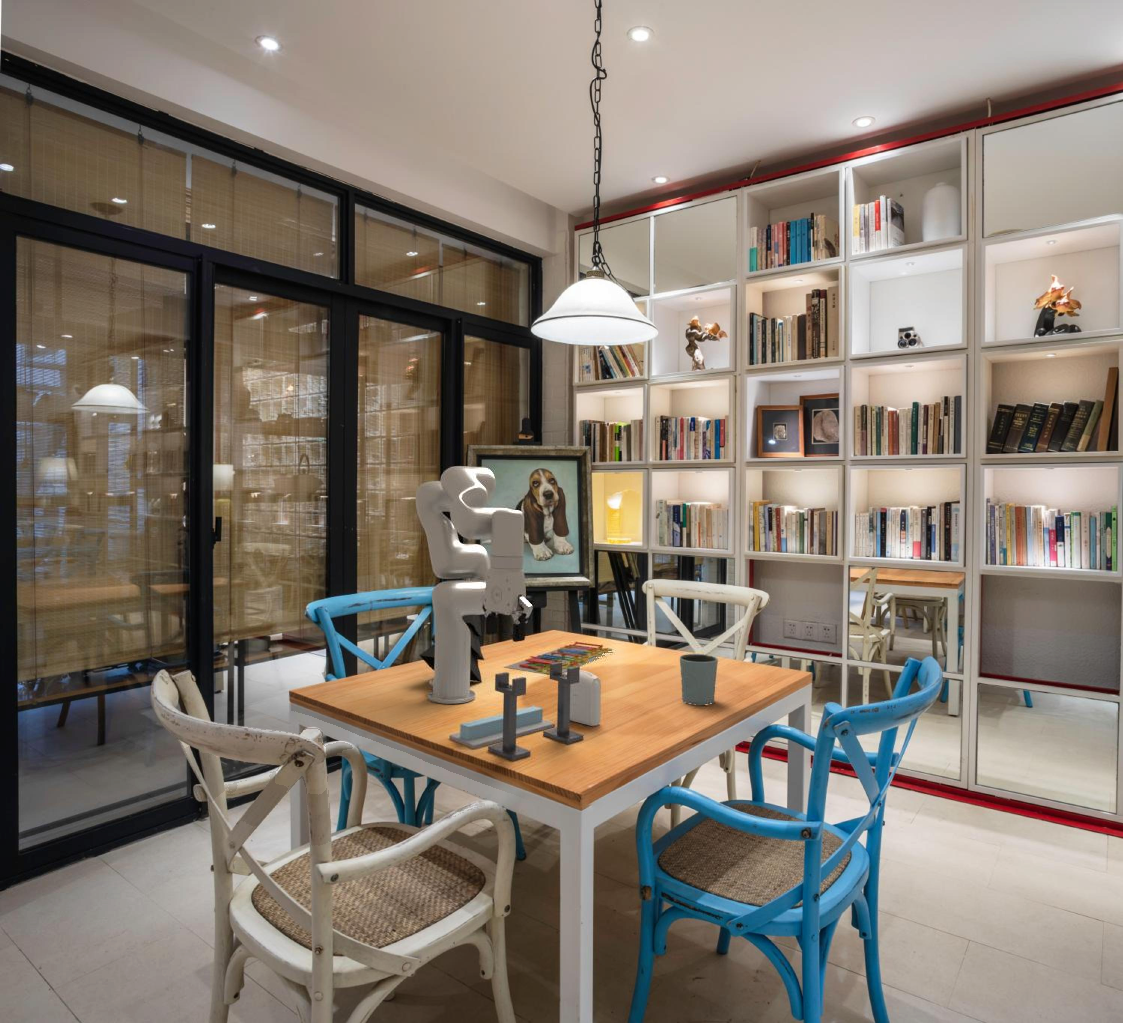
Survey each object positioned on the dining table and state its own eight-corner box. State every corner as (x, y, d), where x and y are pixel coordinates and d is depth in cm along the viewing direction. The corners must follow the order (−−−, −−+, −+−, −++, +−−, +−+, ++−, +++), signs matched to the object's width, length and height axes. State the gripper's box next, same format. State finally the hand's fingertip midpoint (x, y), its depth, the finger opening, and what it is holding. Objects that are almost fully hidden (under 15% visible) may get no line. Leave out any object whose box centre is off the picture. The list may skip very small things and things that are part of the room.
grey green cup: (721, 700, 203) (722, 656, 203) (709, 709, 194) (710, 663, 194) (686, 694, 208) (687, 652, 208) (673, 702, 199) (674, 658, 199)
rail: (460, 737, 165) (460, 723, 165) (534, 718, 180) (534, 706, 180) (468, 740, 163) (468, 727, 162) (542, 721, 178) (542, 708, 178)
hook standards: (488, 751, 158) (489, 674, 158) (558, 731, 173) (560, 660, 173) (512, 761, 153) (513, 681, 152) (583, 739, 167) (585, 666, 167)
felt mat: (449, 738, 166) (449, 735, 166) (529, 718, 183) (529, 714, 183) (473, 749, 160) (473, 745, 159) (554, 726, 176) (554, 723, 176)
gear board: (555, 669, 227) (503, 661, 236) (555, 677, 227) (503, 669, 236) (619, 645, 266) (572, 639, 275) (618, 652, 266) (571, 646, 276)
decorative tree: (478, 695, 215) (511, 589, 233) (457, 674, 204) (494, 565, 222) (434, 689, 220) (470, 586, 239) (412, 669, 209) (451, 562, 227)
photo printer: (559, 718, 183) (560, 668, 183) (571, 715, 186) (572, 666, 186) (591, 728, 176) (592, 676, 176) (603, 724, 179) (604, 673, 179)
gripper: (470, 561, 174) (469, 633, 175) (519, 568, 162) (517, 646, 162) (495, 559, 179) (494, 629, 180) (544, 566, 167) (542, 641, 167)
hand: (504, 637), depth 171 cm, fingers open, 9 cm apart
